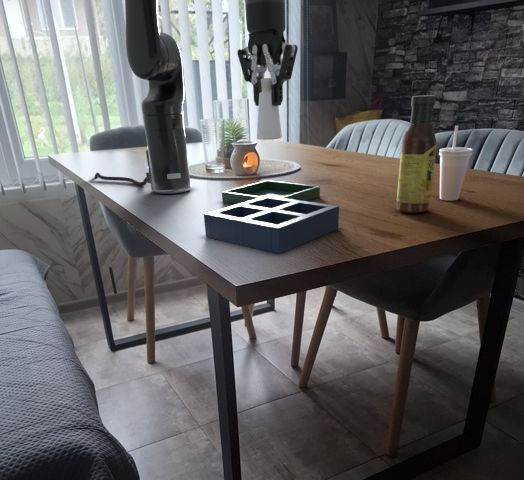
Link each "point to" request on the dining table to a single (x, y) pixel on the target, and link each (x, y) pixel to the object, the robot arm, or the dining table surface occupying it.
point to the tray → (271, 192)
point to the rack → (272, 223)
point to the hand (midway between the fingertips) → (268, 105)
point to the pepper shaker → (268, 114)
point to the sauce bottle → (417, 158)
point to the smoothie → (453, 169)
